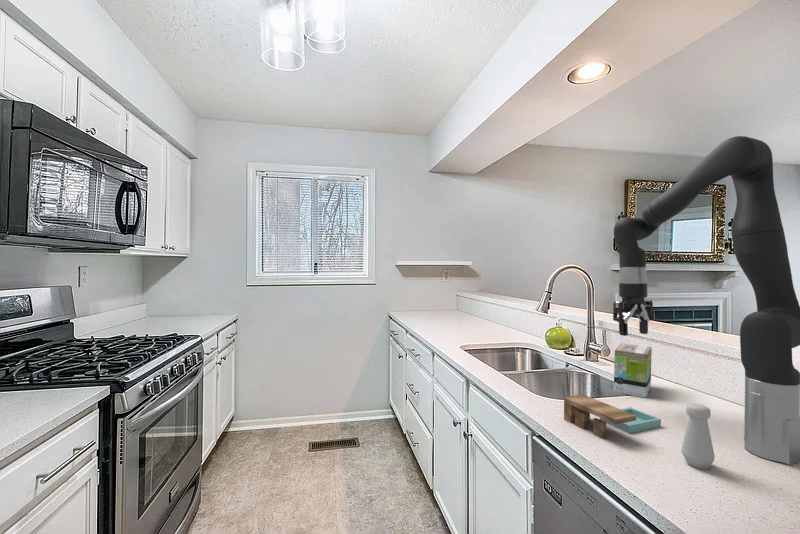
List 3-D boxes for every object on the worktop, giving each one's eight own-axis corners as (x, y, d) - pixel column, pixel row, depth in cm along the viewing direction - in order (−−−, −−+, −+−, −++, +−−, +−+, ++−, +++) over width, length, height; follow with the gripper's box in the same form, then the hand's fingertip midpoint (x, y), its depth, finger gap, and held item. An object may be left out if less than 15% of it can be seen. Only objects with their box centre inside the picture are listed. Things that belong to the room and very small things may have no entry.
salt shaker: (682, 455, 89) (682, 398, 88) (714, 463, 85) (715, 404, 85) (680, 465, 84) (681, 406, 84) (714, 474, 80) (715, 412, 80)
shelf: (636, 440, 96) (636, 415, 96) (615, 445, 93) (615, 419, 93) (582, 415, 111) (582, 394, 111) (564, 419, 109) (564, 397, 109)
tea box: (647, 398, 126) (648, 353, 125) (612, 392, 132) (613, 349, 132) (651, 387, 138) (651, 345, 137) (619, 381, 144) (619, 342, 144)
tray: (660, 428, 104) (660, 419, 104) (628, 434, 100) (628, 425, 100) (630, 415, 113) (630, 407, 113) (599, 421, 108) (599, 412, 108)
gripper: (627, 282, 113) (628, 338, 113) (660, 281, 118) (661, 334, 118) (605, 282, 120) (606, 334, 120) (638, 281, 125) (639, 331, 125)
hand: (633, 334), depth 119 cm, fingers open, 8 cm apart
